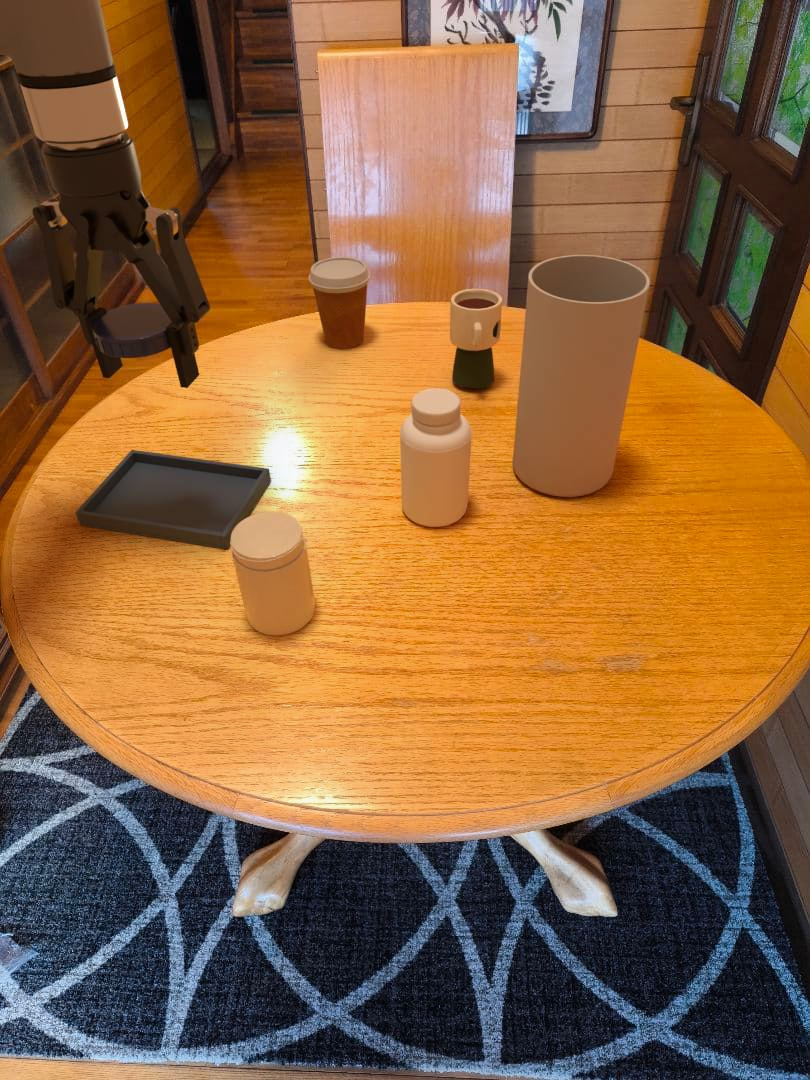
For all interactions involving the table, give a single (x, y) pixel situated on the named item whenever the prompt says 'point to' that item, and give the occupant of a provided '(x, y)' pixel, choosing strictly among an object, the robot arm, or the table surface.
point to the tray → (175, 498)
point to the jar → (273, 572)
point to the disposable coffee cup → (341, 299)
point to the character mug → (474, 335)
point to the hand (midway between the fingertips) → (151, 376)
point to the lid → (132, 331)
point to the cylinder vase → (576, 371)
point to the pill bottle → (435, 459)
